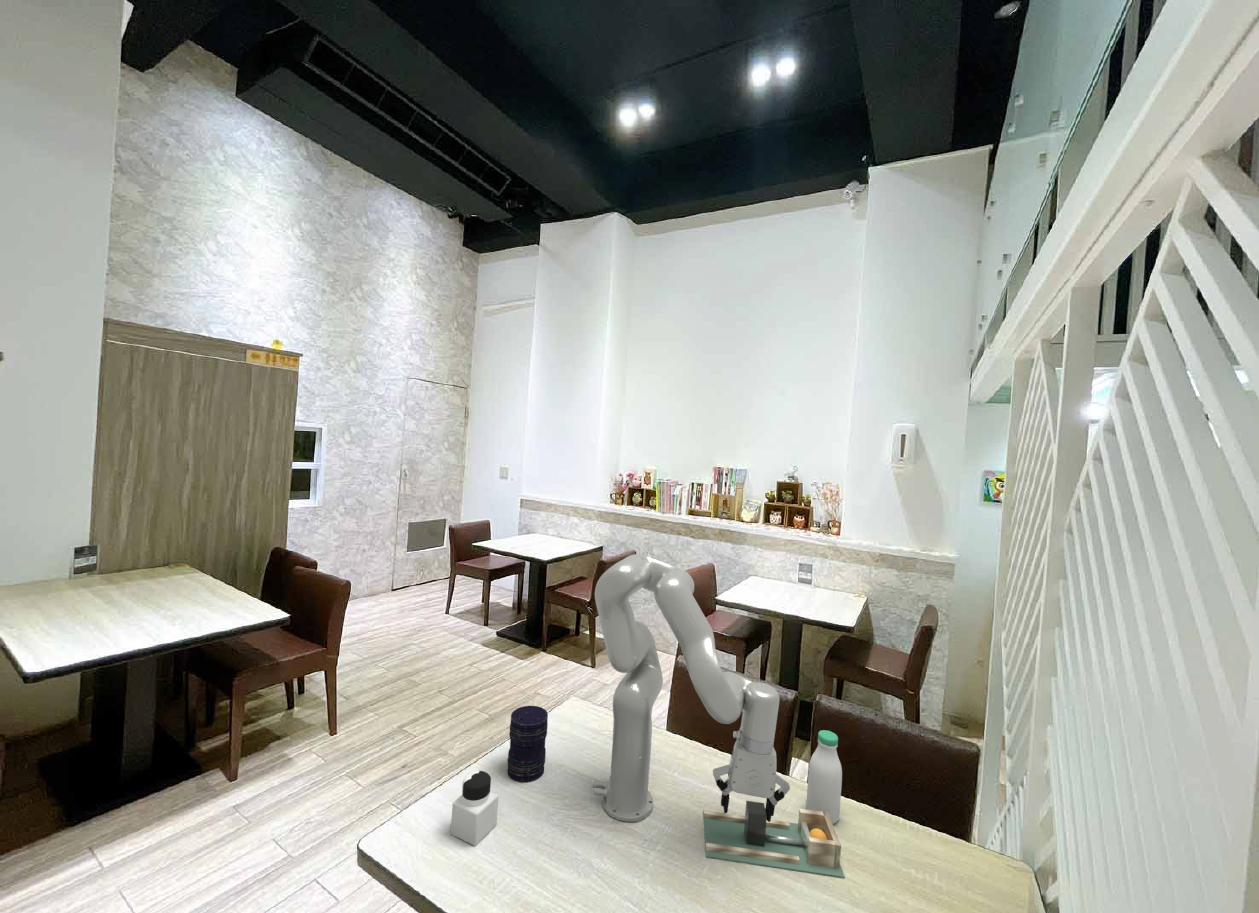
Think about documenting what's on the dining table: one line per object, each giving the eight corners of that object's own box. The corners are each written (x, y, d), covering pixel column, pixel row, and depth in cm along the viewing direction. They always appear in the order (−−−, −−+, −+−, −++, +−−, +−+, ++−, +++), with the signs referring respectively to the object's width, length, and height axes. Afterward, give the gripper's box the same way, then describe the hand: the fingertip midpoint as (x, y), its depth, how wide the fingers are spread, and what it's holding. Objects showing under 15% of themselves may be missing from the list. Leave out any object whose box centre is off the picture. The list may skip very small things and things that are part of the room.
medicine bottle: (497, 825, 114) (500, 773, 114) (475, 847, 108) (478, 791, 107) (472, 813, 117) (475, 762, 117) (449, 834, 111) (453, 780, 110)
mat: (705, 857, 109) (706, 856, 109) (703, 811, 123) (703, 810, 123) (844, 878, 106) (844, 876, 106) (825, 828, 120) (825, 827, 120)
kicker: (746, 847, 112) (749, 816, 112) (743, 827, 118) (745, 797, 118) (811, 856, 111) (814, 825, 111) (805, 835, 117) (807, 806, 116)
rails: (705, 850, 111) (706, 846, 111) (703, 814, 121) (703, 810, 121) (799, 864, 108) (799, 859, 108) (788, 826, 119) (788, 822, 119)
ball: (831, 840, 111) (827, 857, 111) (826, 827, 115) (822, 843, 115) (813, 834, 112) (809, 852, 112) (808, 821, 116) (804, 838, 116)
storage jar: (527, 754, 141) (530, 701, 140) (552, 769, 135) (556, 714, 135) (498, 771, 133) (502, 715, 132) (524, 788, 127) (528, 729, 127)
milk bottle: (842, 828, 120) (848, 746, 120) (808, 821, 122) (814, 740, 122) (835, 806, 128) (841, 728, 128) (803, 800, 129) (809, 723, 129)
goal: (808, 864, 109) (809, 841, 109) (797, 829, 119) (799, 808, 119) (839, 868, 108) (841, 845, 108) (826, 833, 118) (827, 812, 118)
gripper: (719, 743, 112) (709, 817, 112) (798, 757, 110) (788, 833, 111) (717, 724, 119) (707, 794, 120) (791, 737, 118) (781, 808, 118)
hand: (746, 813), depth 115 cm, fingers open, 9 cm apart
